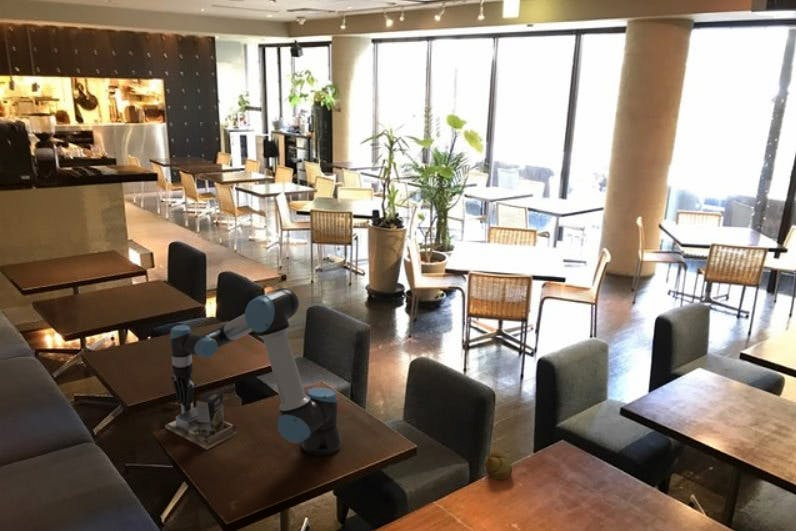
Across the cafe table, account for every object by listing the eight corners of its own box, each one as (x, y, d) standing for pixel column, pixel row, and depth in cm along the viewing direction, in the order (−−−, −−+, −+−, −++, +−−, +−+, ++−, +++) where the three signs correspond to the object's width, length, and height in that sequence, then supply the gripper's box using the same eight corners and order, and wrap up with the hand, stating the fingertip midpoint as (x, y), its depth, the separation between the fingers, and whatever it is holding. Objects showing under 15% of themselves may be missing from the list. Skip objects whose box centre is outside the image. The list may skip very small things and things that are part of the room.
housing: (213, 422, 248) (212, 410, 246) (189, 434, 239) (188, 421, 237) (200, 416, 252) (200, 404, 251) (176, 427, 243) (175, 415, 242)
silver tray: (236, 434, 242) (235, 426, 241) (206, 449, 231) (206, 440, 230) (194, 414, 257) (194, 406, 256) (165, 427, 246) (164, 419, 245)
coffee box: (212, 441, 235) (210, 403, 231) (197, 438, 236) (195, 400, 232) (225, 429, 243) (223, 392, 239) (210, 427, 245) (208, 390, 241)
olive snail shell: (486, 460, 230) (487, 441, 228) (512, 464, 228) (514, 445, 226) (483, 480, 218) (484, 460, 216) (510, 484, 216) (512, 464, 214)
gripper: (200, 365, 242) (203, 418, 248) (180, 356, 249) (183, 409, 255) (184, 371, 236) (188, 426, 242) (164, 362, 243) (168, 416, 249)
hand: (185, 417), depth 248 cm, fingers closed
